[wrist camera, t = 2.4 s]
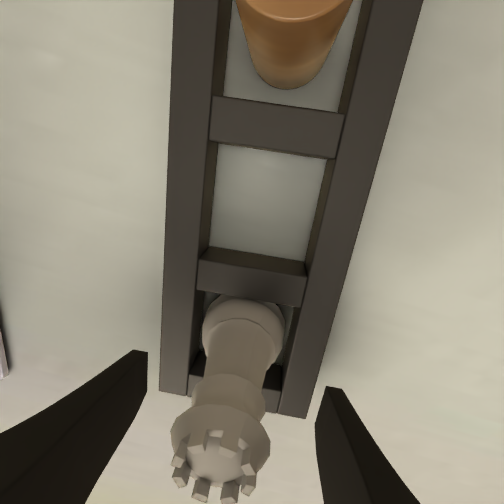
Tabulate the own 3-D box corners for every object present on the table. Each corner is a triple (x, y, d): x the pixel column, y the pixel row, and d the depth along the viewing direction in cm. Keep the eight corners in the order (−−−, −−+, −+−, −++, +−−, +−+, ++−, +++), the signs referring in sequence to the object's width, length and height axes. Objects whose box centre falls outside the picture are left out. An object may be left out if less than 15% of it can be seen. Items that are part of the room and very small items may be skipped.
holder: (171, 365, 17) (158, 391, 15) (198, -104, 10) (179, -165, 8) (302, 390, 17) (306, 420, 15) (426, -79, 10) (462, -137, 8)
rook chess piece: (234, 270, 14) (184, 390, 7) (301, 315, 15) (324, 473, 7) (192, 327, 16) (113, 478, 8) (255, 366, 16) (235, 544, 9)
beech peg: (244, 84, 12) (213, 12, 6) (255, -9, 11) (229, -202, 5) (319, 94, 12) (358, 31, 6) (338, 1, 10) (407, -186, 5)
